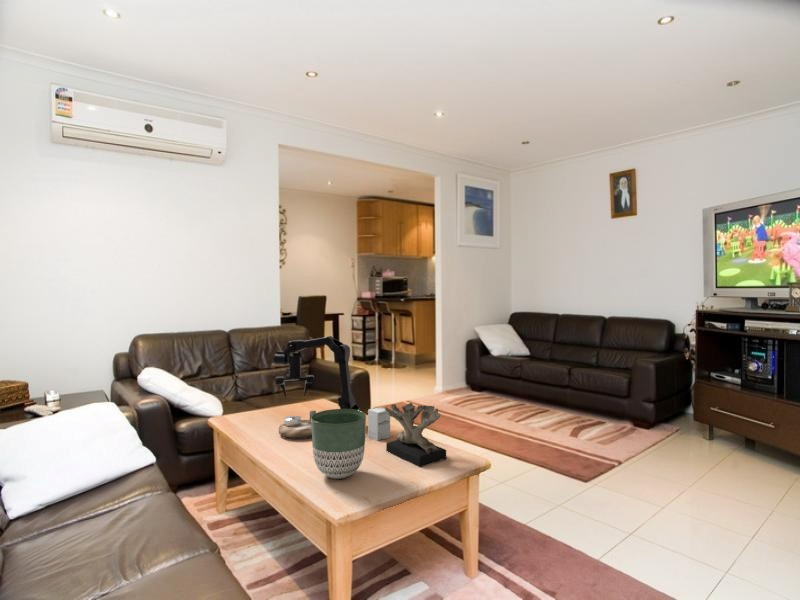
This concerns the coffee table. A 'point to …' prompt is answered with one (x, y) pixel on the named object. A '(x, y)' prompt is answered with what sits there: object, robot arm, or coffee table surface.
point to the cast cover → (292, 421)
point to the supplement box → (378, 424)
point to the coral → (415, 436)
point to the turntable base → (298, 437)
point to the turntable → (298, 428)
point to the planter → (338, 441)
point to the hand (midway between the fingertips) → (295, 396)
